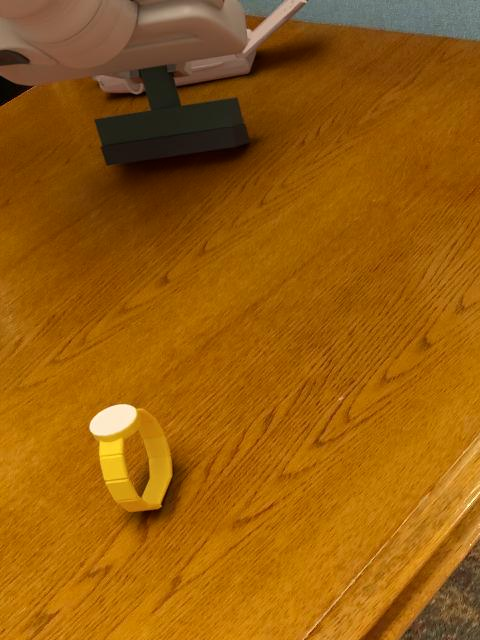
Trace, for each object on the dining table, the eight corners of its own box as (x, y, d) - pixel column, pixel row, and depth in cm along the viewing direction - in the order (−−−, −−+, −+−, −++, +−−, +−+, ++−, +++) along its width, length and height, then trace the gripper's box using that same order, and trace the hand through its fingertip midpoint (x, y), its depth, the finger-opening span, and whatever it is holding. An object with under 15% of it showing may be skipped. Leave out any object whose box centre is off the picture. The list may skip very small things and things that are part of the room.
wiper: (106, 165, 88) (58, 14, 83) (125, 160, 92) (81, 15, 86) (236, 147, 87) (196, -9, 81) (250, 142, 90) (213, -7, 85)
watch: (167, 526, 59) (120, 455, 55) (123, 531, 59) (73, 461, 55) (190, 455, 63) (148, 383, 58) (148, 460, 63) (103, 389, 59)
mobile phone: (306, 1, 95) (55, 45, 97) (325, 64, 99) (84, 105, 101) (313, -22, 99) (72, 20, 101) (330, 39, 103) (99, 79, 105)
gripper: (199, -69, 72) (271, 16, 86) (-62, -24, 75) (49, 51, 88) (209, 21, 73) (280, 91, 86) (-50, 63, 75) (59, 124, 89)
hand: (161, 71), depth 87 cm, fingers closed on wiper, 2 cm apart
